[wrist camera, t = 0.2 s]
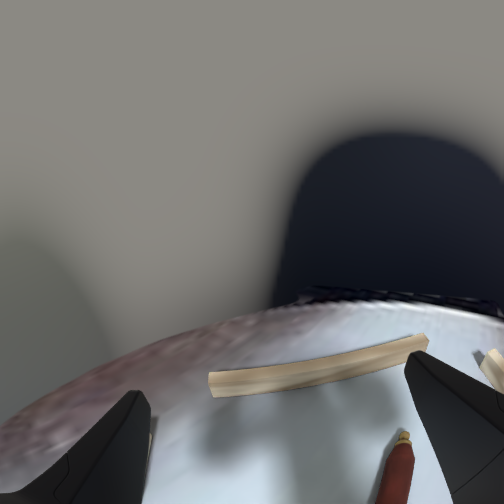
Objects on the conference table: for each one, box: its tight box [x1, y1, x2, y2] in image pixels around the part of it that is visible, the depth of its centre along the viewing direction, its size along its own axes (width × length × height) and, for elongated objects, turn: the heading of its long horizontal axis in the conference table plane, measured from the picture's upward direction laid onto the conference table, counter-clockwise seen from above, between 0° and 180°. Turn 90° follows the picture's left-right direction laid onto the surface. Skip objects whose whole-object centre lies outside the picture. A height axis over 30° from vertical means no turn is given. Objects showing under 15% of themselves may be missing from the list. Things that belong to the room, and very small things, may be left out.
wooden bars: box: [144, 333, 504, 480], centre depth 20 cm, size 14×39×2 cm, turn 93°
